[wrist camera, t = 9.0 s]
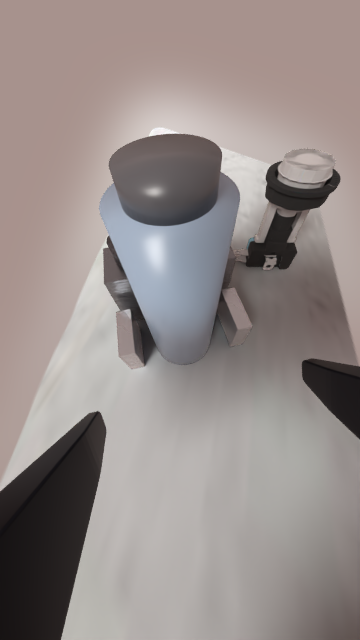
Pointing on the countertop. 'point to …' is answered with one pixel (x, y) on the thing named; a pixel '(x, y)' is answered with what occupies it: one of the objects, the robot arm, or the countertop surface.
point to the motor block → (127, 326)
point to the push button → (289, 206)
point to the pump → (172, 235)
